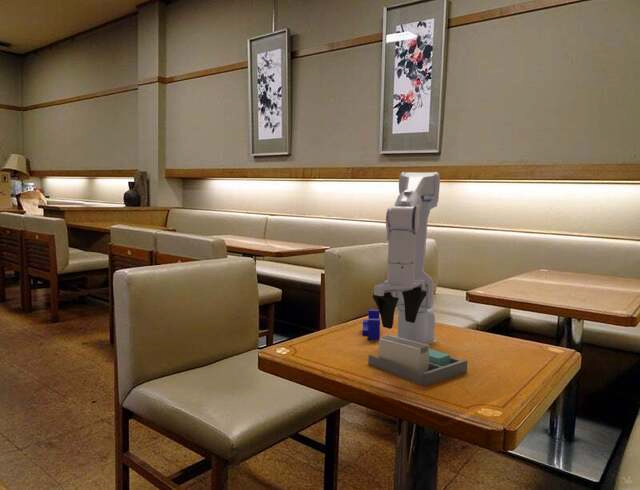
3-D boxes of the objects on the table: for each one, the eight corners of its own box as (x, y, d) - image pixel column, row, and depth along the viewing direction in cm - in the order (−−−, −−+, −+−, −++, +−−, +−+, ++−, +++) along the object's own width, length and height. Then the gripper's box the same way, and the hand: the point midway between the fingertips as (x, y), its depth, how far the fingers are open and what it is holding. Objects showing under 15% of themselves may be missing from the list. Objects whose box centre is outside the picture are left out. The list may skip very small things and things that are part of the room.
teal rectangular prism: (413, 356, 112) (414, 343, 111) (449, 368, 104) (450, 355, 104) (401, 359, 109) (402, 346, 109) (437, 372, 101) (438, 358, 101)
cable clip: (362, 329, 137) (363, 309, 136) (378, 330, 136) (379, 309, 136) (362, 342, 125) (362, 319, 124) (379, 343, 124) (380, 320, 124)
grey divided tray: (409, 354, 115) (410, 342, 114) (466, 374, 102) (467, 360, 102) (368, 366, 106) (368, 353, 106) (425, 389, 94) (425, 374, 93)
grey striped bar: (389, 361, 108) (389, 334, 107) (428, 373, 101) (429, 345, 100) (378, 365, 105) (378, 338, 104) (418, 378, 98) (419, 349, 97)
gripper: (408, 258, 110) (405, 315, 112) (364, 262, 101) (362, 326, 102) (433, 261, 105) (431, 322, 106) (389, 266, 96) (387, 333, 97)
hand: (399, 324), depth 104 cm, fingers open, 7 cm apart
